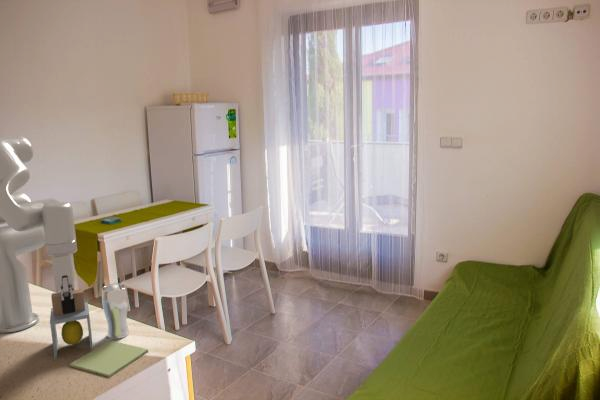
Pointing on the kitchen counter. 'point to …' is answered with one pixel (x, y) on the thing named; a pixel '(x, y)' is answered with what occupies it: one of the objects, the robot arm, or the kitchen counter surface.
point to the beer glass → (115, 310)
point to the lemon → (72, 332)
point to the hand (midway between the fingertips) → (69, 306)
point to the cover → (59, 317)
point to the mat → (109, 358)
